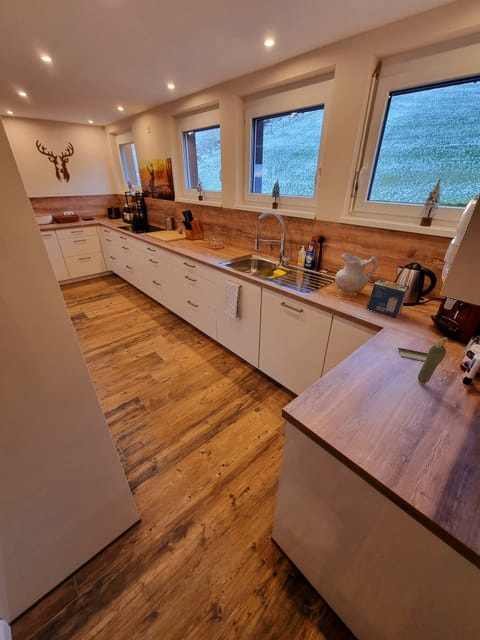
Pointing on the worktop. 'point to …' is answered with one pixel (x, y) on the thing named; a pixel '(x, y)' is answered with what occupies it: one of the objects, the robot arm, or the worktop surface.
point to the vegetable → (432, 361)
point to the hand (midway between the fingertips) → (445, 302)
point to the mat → (412, 354)
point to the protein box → (387, 298)
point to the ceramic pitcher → (354, 274)
